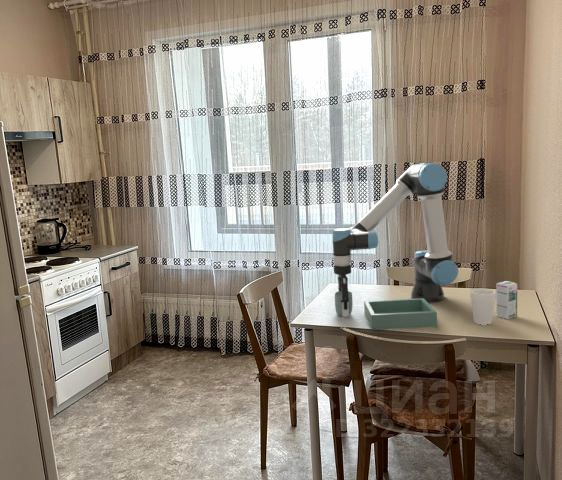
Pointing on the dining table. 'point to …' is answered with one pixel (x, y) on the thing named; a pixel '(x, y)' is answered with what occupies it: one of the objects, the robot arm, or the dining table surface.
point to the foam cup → (483, 305)
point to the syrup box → (506, 299)
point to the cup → (339, 304)
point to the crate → (400, 314)
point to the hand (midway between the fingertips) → (343, 311)
